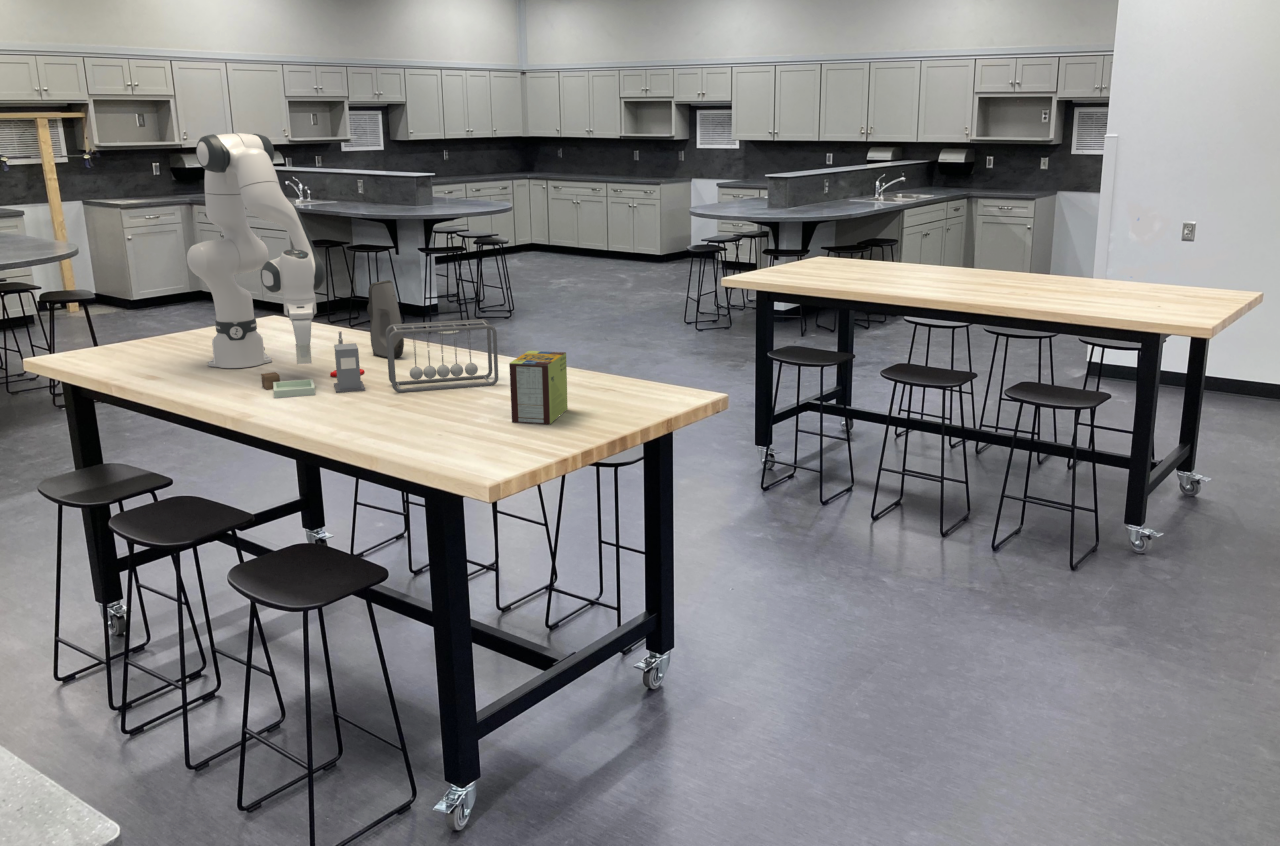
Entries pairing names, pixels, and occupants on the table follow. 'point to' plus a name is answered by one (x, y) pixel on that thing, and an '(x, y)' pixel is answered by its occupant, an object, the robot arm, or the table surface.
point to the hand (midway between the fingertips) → (303, 355)
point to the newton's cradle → (442, 369)
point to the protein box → (538, 387)
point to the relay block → (307, 359)
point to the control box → (347, 368)
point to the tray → (293, 388)
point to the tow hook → (340, 341)
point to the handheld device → (384, 318)
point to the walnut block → (269, 380)
